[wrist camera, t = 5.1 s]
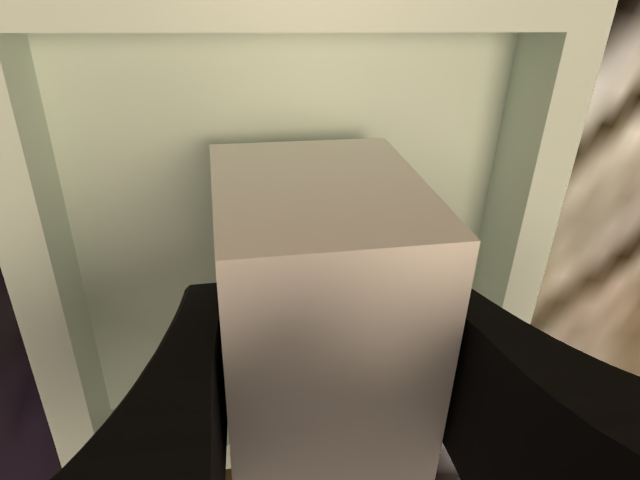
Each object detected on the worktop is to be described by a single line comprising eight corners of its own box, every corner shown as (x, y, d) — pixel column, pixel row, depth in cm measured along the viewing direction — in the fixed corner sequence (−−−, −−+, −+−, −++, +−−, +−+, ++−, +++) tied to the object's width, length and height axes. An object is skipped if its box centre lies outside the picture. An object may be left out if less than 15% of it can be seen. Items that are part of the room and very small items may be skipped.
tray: (554, -28, 13) (623, -20, 11) (468, 375, 20) (501, 429, 17) (-34, -40, 11) (-92, -33, 9) (85, 422, 17) (69, 491, 15)
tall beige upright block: (384, 137, 13) (480, 240, 8) (363, 385, 16) (422, 545, 12) (209, 144, 12) (214, 260, 8) (228, 402, 16) (240, 579, 11)
